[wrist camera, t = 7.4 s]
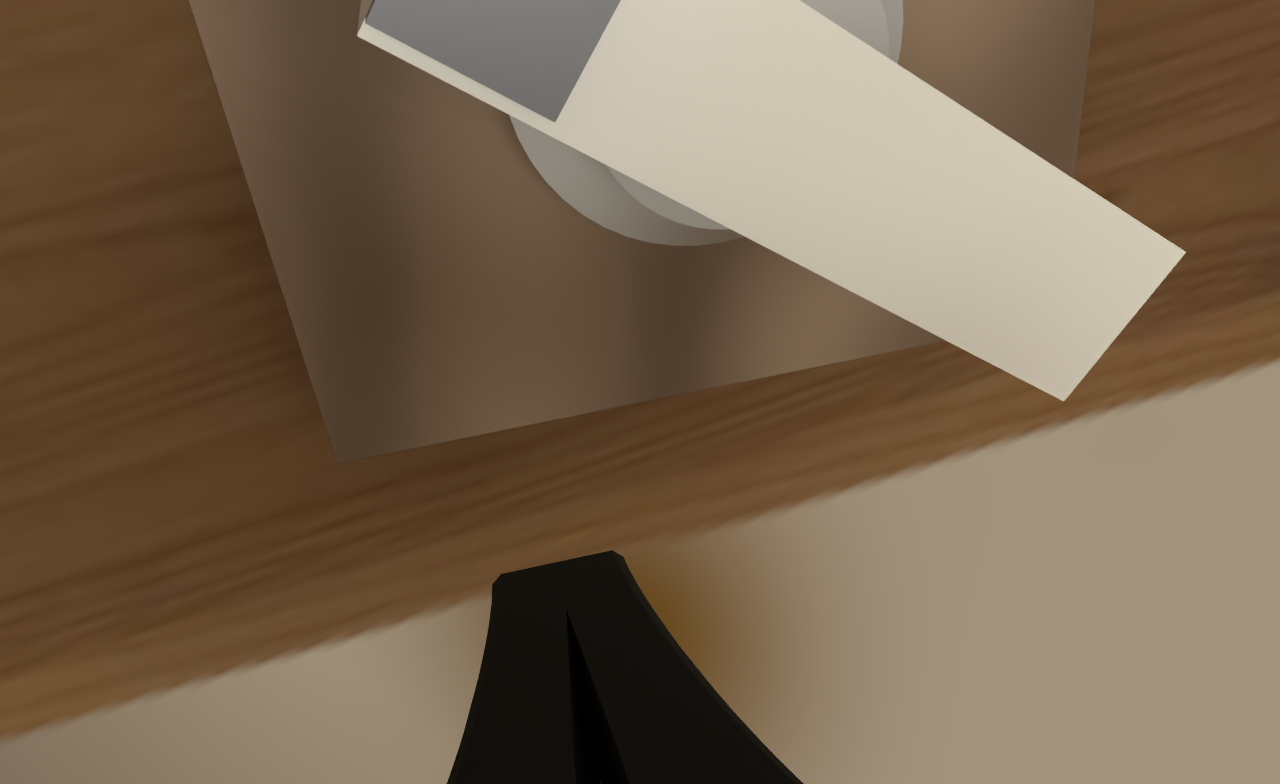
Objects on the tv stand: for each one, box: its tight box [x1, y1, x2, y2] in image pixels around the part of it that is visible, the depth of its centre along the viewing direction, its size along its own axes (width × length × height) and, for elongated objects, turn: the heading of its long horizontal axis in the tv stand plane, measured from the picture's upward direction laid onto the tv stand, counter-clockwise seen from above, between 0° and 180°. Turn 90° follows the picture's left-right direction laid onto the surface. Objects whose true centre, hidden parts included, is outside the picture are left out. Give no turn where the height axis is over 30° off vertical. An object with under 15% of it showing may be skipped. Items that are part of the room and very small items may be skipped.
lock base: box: [189, 0, 1096, 464], centre depth 17 cm, size 15×14×3 cm
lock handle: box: [357, 0, 1186, 401], centre depth 13 cm, size 10×4×5 cm, turn 60°
